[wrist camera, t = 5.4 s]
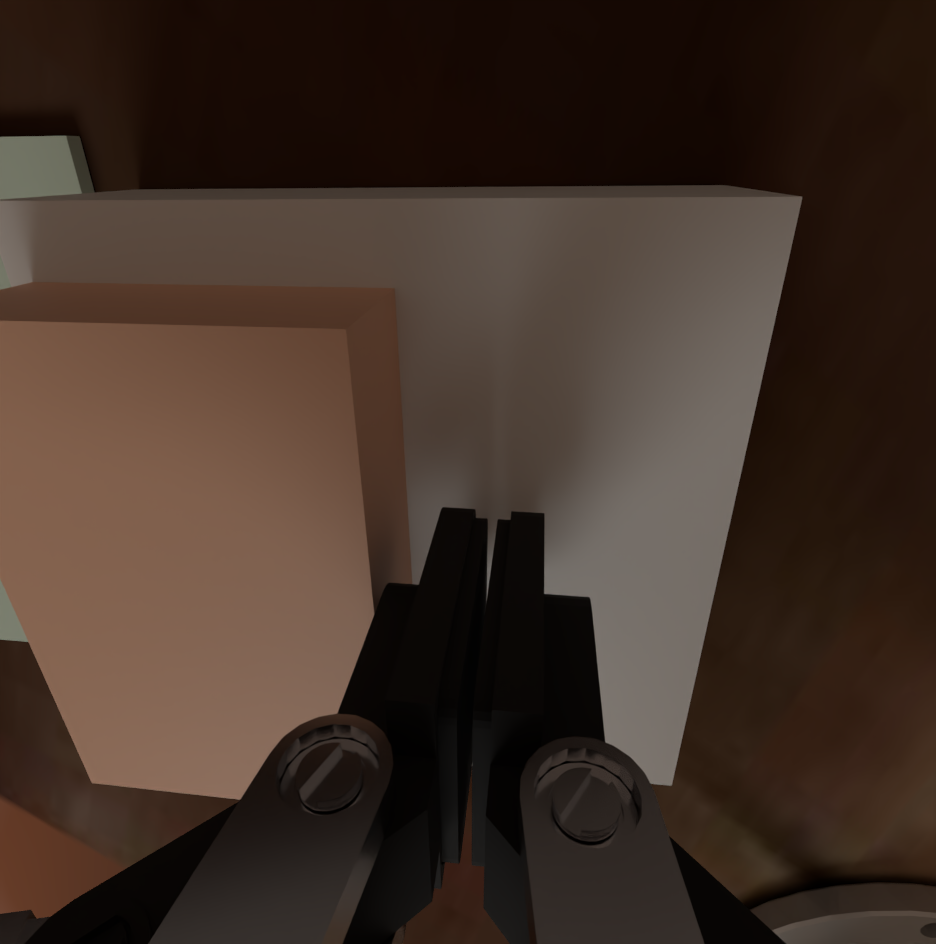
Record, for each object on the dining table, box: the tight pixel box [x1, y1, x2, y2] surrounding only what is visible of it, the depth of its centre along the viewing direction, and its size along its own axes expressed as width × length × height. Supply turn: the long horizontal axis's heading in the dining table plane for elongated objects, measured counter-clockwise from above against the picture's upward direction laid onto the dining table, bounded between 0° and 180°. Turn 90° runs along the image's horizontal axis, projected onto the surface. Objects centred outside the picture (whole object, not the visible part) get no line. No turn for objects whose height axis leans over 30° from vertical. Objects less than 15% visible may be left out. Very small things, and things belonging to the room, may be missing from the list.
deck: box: [0, 185, 802, 786], centre depth 13 cm, size 12×12×4 cm
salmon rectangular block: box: [0, 282, 412, 800], centre depth 10 cm, size 9×6×2 cm, turn 0°
